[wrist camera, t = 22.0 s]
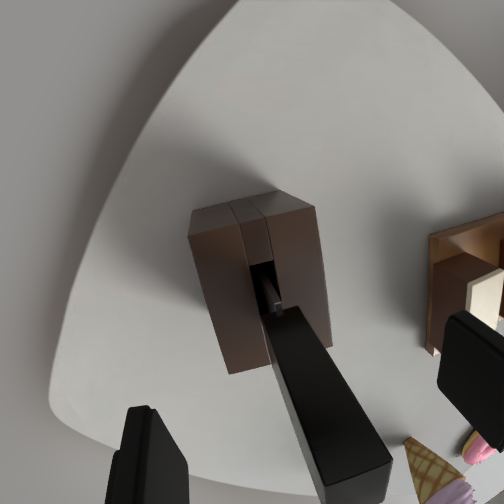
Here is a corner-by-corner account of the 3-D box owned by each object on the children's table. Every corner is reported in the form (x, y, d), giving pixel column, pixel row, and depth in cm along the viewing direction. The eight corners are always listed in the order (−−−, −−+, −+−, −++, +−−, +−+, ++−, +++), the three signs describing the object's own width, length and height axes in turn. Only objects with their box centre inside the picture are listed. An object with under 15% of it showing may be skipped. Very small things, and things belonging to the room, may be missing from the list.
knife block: (192, 210, 21) (187, 236, 14) (280, 189, 22) (314, 205, 15) (220, 316, 24) (228, 375, 17) (299, 296, 24) (333, 346, 17)
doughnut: (450, 450, 37) (462, 466, 33) (498, 400, 35) (513, 414, 32) (467, 458, 40) (477, 472, 36) (508, 415, 39) (520, 428, 35)
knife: (234, 242, 22) (323, 480, 5) (257, 236, 22) (395, 452, 5) (243, 282, 23) (328, 526, 6) (265, 276, 23) (383, 506, 6)
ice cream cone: (438, 422, 33) (496, 496, 19) (415, 453, 35) (464, 526, 20) (403, 427, 32) (463, 515, 17) (379, 459, 33) (427, 544, 19)
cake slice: (432, 263, 23) (472, 285, 19) (465, 251, 24) (505, 270, 19) (428, 342, 26) (459, 371, 21) (459, 328, 26) (491, 353, 22)
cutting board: (428, 234, 24) (439, 239, 23) (527, 204, 26) (536, 206, 24) (424, 349, 28) (432, 357, 27) (518, 299, 29) (526, 304, 28)
